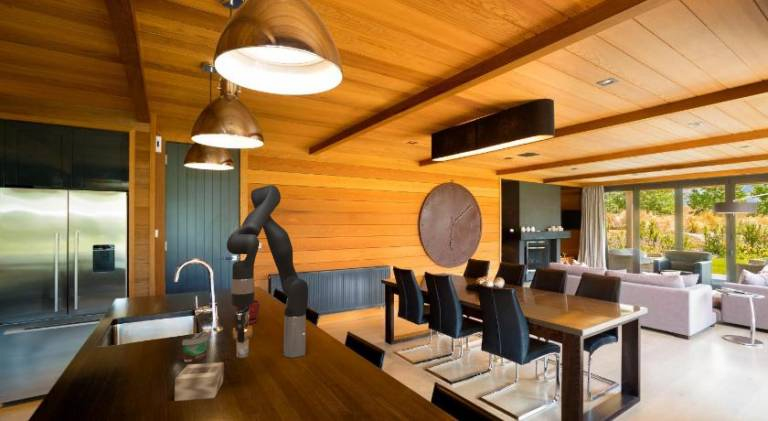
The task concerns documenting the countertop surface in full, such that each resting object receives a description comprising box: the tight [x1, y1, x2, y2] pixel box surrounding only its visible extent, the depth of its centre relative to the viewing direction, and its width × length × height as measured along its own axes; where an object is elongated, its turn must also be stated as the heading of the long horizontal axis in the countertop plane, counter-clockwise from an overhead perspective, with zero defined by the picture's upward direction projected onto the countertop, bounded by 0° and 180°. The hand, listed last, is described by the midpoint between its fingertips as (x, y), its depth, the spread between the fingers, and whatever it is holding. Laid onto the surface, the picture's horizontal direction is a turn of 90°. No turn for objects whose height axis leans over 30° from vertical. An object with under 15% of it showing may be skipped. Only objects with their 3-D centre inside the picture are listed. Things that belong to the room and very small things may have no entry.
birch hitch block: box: [174, 362, 224, 402], centre depth 124 cm, size 12×12×7 cm
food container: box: [181, 331, 210, 365], centre depth 152 cm, size 12×6×10 cm, turn 168°
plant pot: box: [235, 299, 261, 325], centre depth 208 cm, size 13×13×12 cm
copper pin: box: [232, 324, 253, 359], centre depth 127 cm, size 6×6×10 cm
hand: (242, 338), depth 127 cm, fingers closed on copper pin, 6 cm apart
